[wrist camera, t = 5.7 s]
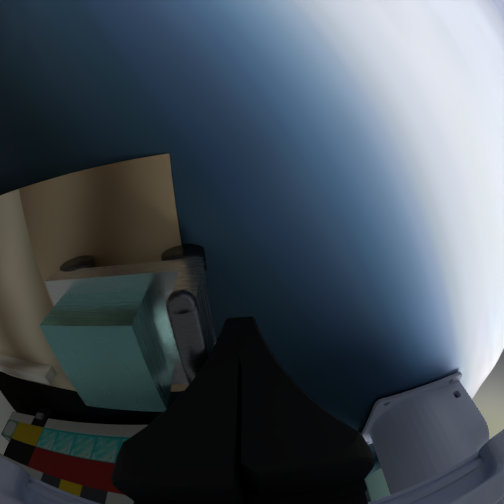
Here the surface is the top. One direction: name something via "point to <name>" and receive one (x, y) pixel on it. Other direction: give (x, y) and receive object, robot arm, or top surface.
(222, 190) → the top surface
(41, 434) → the toy vehicle
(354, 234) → the top surface
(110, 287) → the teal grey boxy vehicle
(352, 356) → the top surface
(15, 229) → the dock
